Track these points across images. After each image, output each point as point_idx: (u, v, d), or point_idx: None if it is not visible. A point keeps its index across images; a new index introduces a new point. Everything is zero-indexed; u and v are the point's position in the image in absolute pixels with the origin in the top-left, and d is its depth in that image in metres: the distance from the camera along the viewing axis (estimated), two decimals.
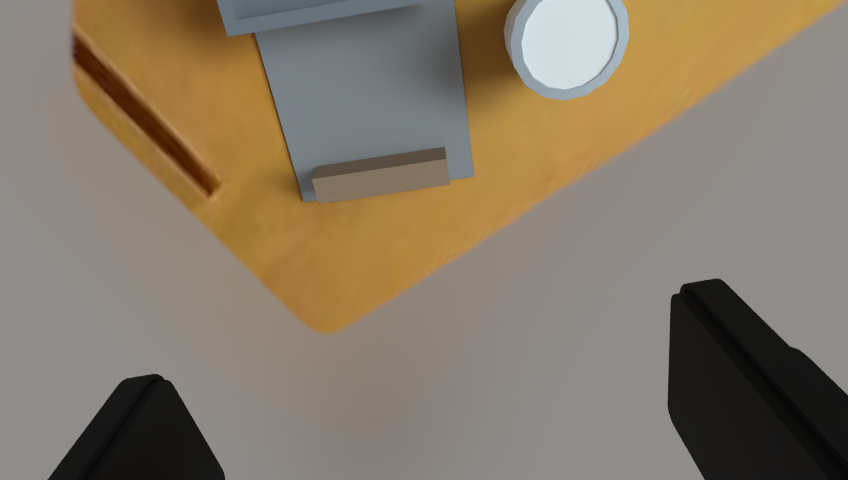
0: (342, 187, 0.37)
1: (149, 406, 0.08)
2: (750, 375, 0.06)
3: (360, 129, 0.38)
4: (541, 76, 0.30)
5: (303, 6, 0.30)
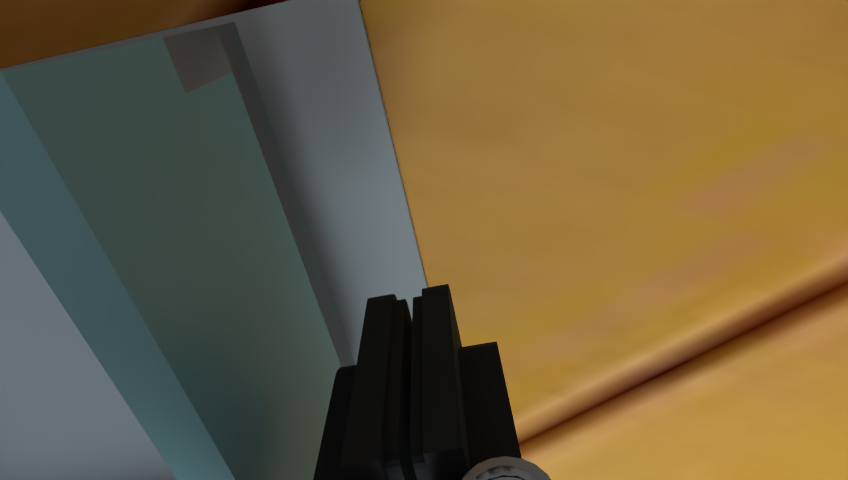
0: None
1: None
2: (416, 363, 0.08)
3: None
4: None
5: None
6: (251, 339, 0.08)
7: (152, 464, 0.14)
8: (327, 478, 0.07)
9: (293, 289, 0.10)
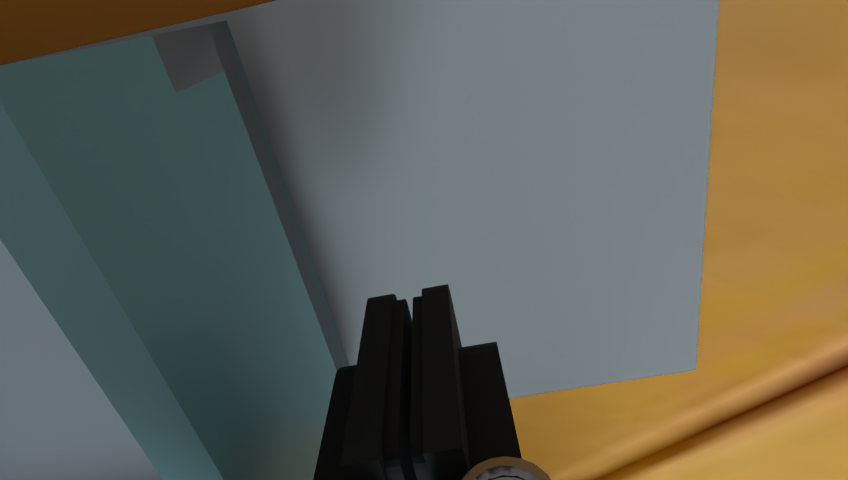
0: None
1: None
2: (416, 364, 0.08)
3: None
4: None
5: None
6: (244, 342, 0.08)
7: (145, 468, 0.14)
8: (327, 478, 0.07)
9: (287, 291, 0.10)
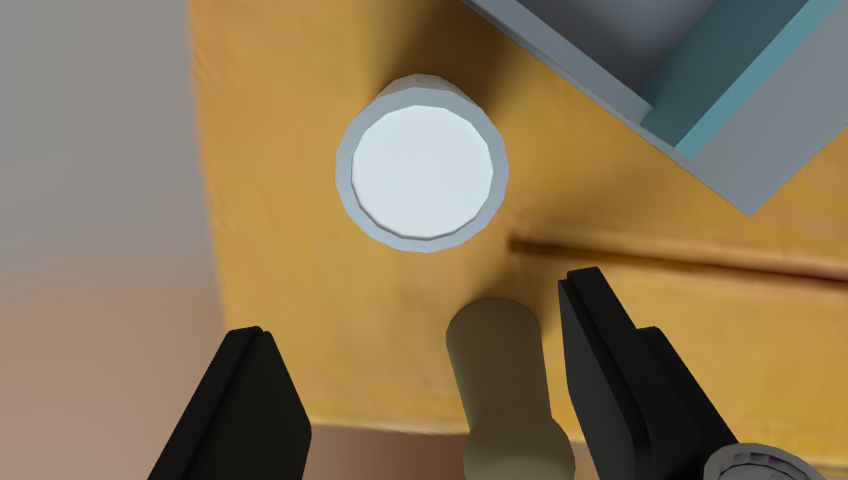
0: None
1: (258, 352, 0.09)
2: (596, 347, 0.07)
3: None
4: (407, 115, 0.18)
5: None
6: None
7: None
8: None
9: None
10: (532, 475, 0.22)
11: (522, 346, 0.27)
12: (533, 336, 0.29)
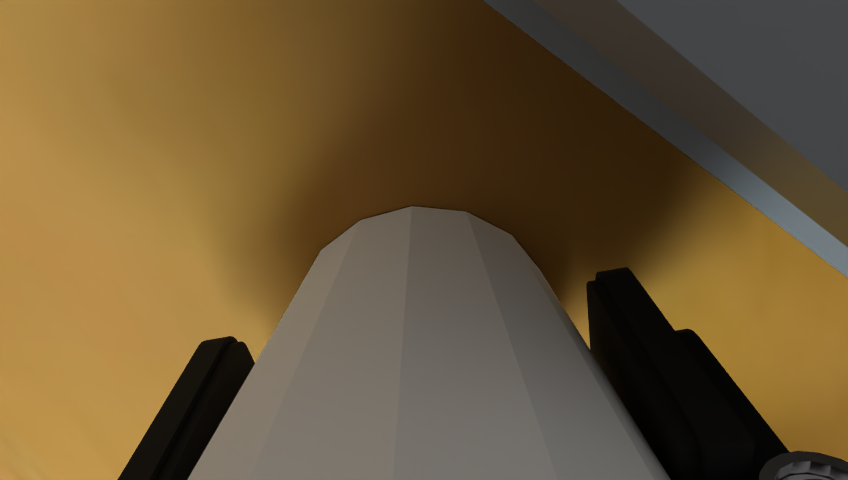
0: None
1: (230, 364, 0.09)
2: (634, 350, 0.07)
3: None
4: None
5: None
6: None
7: None
8: None
9: None
10: None
11: None
12: None
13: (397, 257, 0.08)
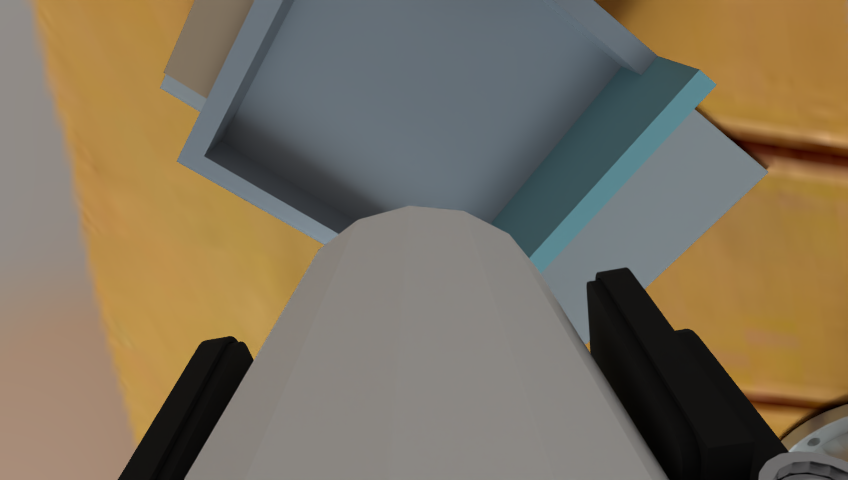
0: None
1: (230, 364, 0.09)
2: (634, 351, 0.07)
3: None
4: None
5: None
6: None
7: (379, 179, 0.22)
8: None
9: None
10: None
11: None
12: None
13: (394, 256, 0.08)
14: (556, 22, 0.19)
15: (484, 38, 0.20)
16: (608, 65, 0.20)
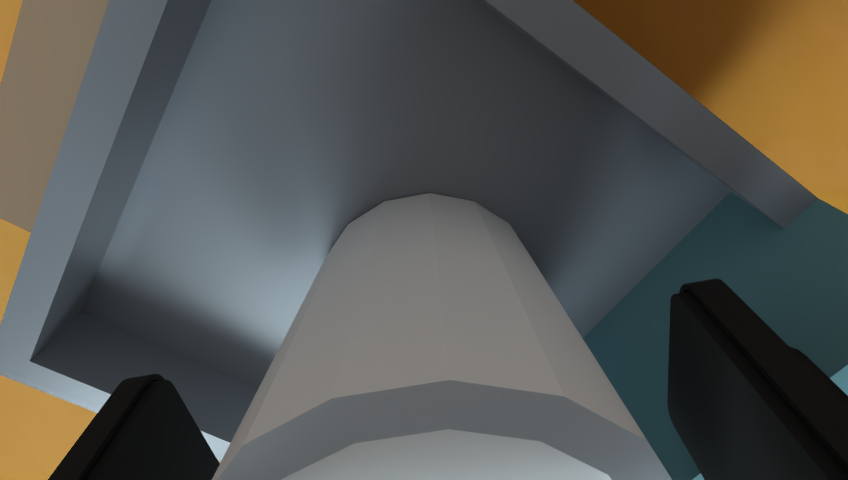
0: None
1: (149, 406, 0.08)
2: (750, 375, 0.06)
3: None
4: (418, 443, 0.06)
5: (201, 32, 0.10)
6: None
7: None
8: None
9: None
10: None
11: None
12: None
13: (424, 231, 0.10)
14: (621, 127, 0.11)
15: (498, 154, 0.11)
16: (707, 191, 0.12)
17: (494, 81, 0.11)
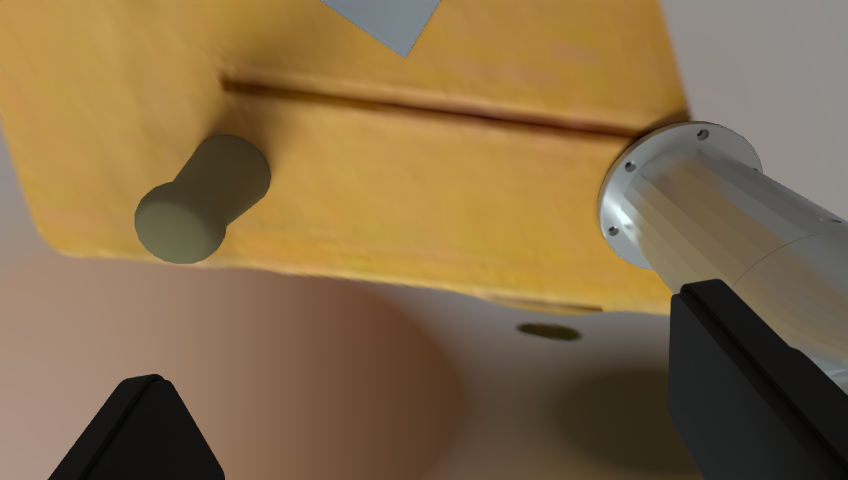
0: None
1: (149, 406, 0.08)
2: (750, 375, 0.06)
3: None
4: None
5: None
6: None
7: None
8: None
9: None
10: (168, 216, 0.29)
11: (222, 159, 0.35)
12: (243, 158, 0.36)
13: None
14: None
15: None
16: None
17: None
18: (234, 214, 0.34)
